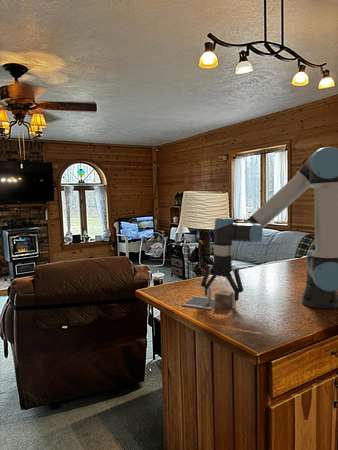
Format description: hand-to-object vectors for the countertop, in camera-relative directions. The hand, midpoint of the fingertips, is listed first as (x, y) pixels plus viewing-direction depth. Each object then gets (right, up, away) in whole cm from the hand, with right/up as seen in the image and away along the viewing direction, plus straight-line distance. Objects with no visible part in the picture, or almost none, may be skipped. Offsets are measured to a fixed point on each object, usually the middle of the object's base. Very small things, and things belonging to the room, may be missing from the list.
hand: (221, 305), depth 144 cm
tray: (-8, -1, +4) cm, 9 cm away
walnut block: (+1, 0, -1) cm, 1 cm away
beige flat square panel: (+1, -1, -1) cm, 1 cm away
